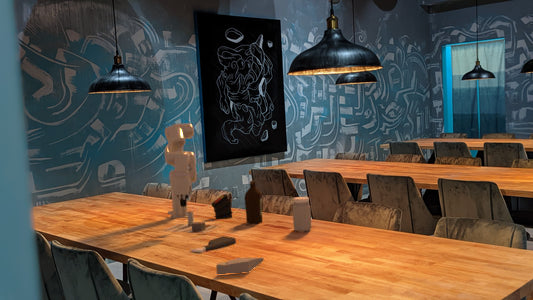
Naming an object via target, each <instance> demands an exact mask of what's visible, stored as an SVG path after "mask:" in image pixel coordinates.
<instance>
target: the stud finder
mask: <svg viewBox="0 0 533 300" xmlns="http://www.w3.org/2000/svg"><path fill="white" fill-rule="evenodd" d="M205 225H206V222H204V221H196V222H195V221H194V223H192V231H203V230H205Z"/></svg>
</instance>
